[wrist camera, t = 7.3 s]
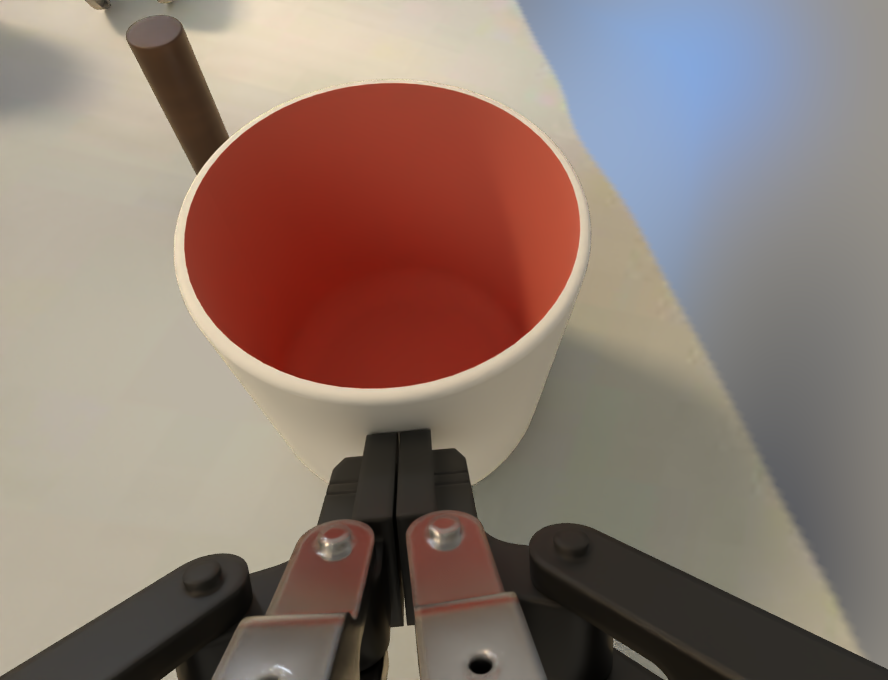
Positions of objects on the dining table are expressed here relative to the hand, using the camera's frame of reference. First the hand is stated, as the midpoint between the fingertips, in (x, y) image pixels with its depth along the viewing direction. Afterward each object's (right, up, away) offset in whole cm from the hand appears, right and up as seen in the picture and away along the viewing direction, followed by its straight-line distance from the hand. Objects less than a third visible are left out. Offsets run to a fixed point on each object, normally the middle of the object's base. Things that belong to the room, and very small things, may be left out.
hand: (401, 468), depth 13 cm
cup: (0, +1, +9) cm, 9 cm away
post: (-10, +10, +14) cm, 20 cm away
